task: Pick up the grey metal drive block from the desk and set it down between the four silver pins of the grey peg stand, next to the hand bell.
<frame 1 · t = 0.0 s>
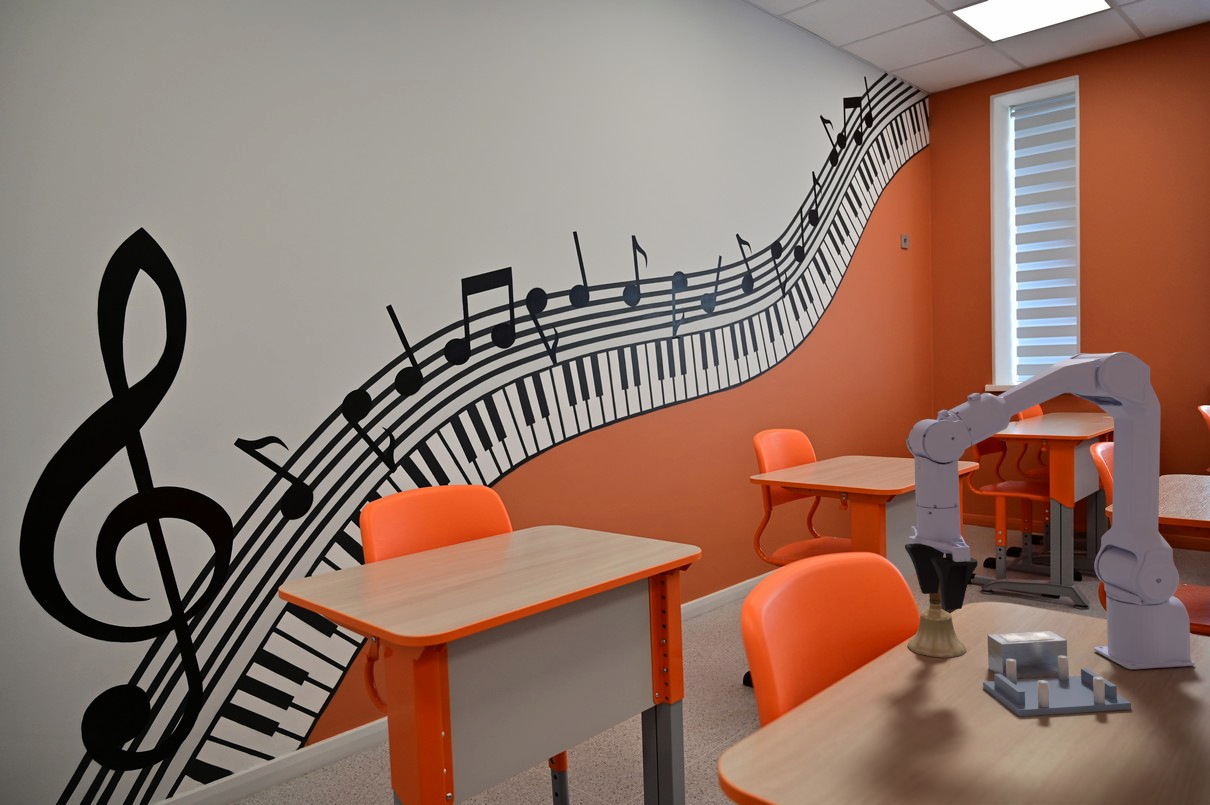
hand: (941, 600, 115), 10 cm above the table, tool pointing down, fingers open, 7 cm apart
grey peg stand: (1054, 698, 104), on the table
hand bell: (936, 649, 124), on the table
drive: (1027, 672, 113), on the table
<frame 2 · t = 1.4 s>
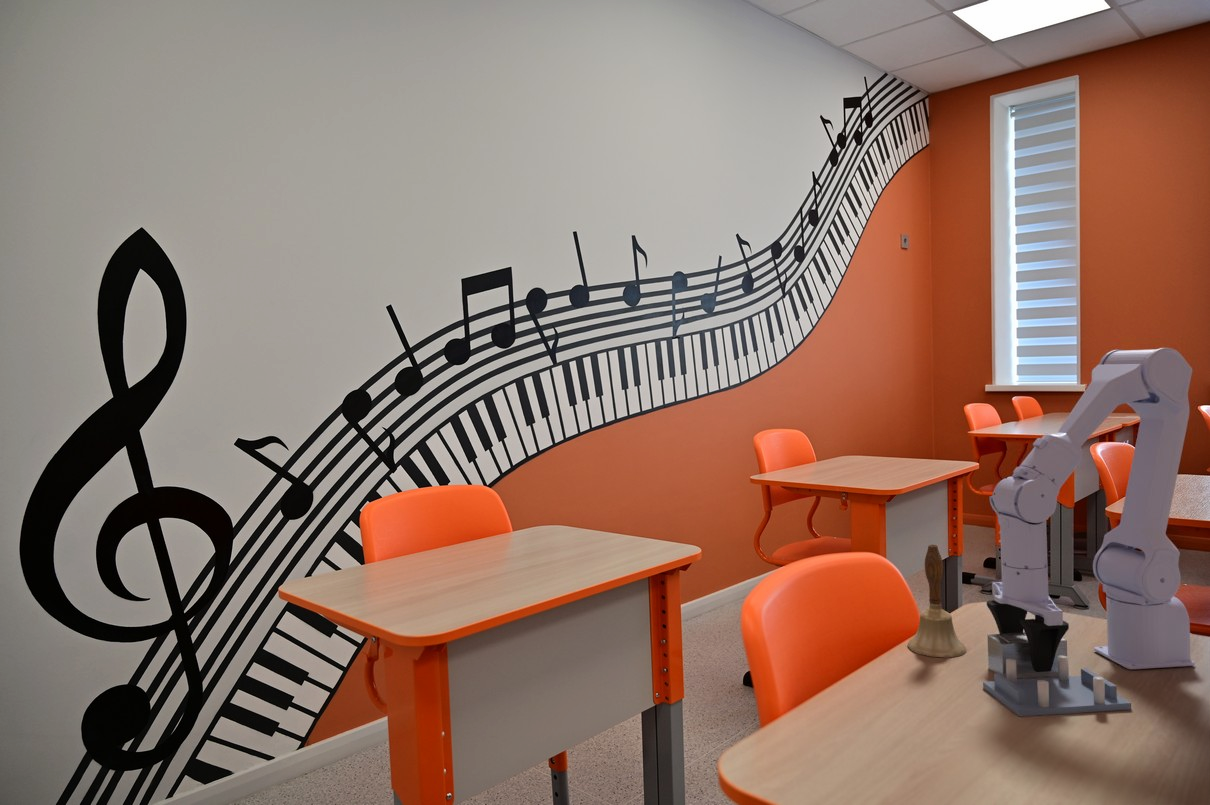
hand: (1027, 660, 113), 2 cm above the table, tool pointing down, fingers open, 7 cm apart
nothing on the table moved.
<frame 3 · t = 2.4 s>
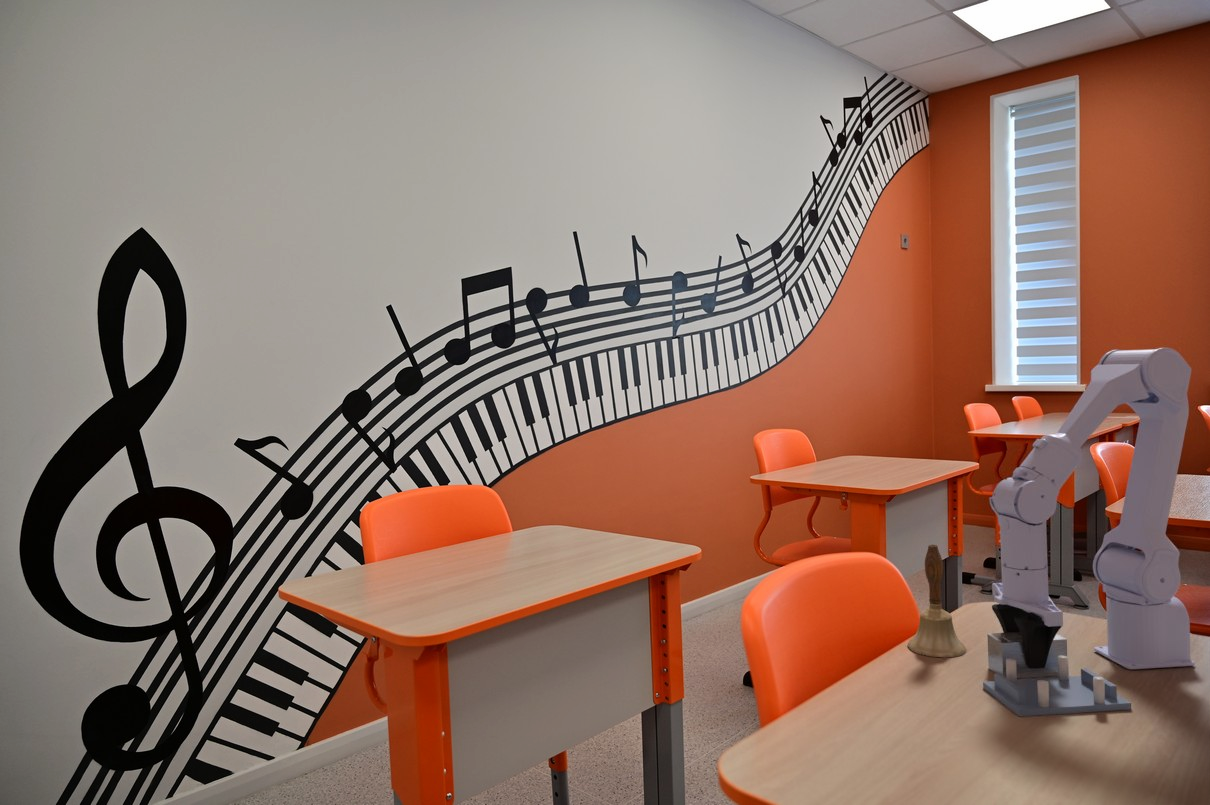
hand: (1027, 661, 113), 1 cm above the table, tool pointing down, fingers closed on drive, 4 cm apart
drive: (1027, 671, 113), on the table, touching gripper
everything else where it was.
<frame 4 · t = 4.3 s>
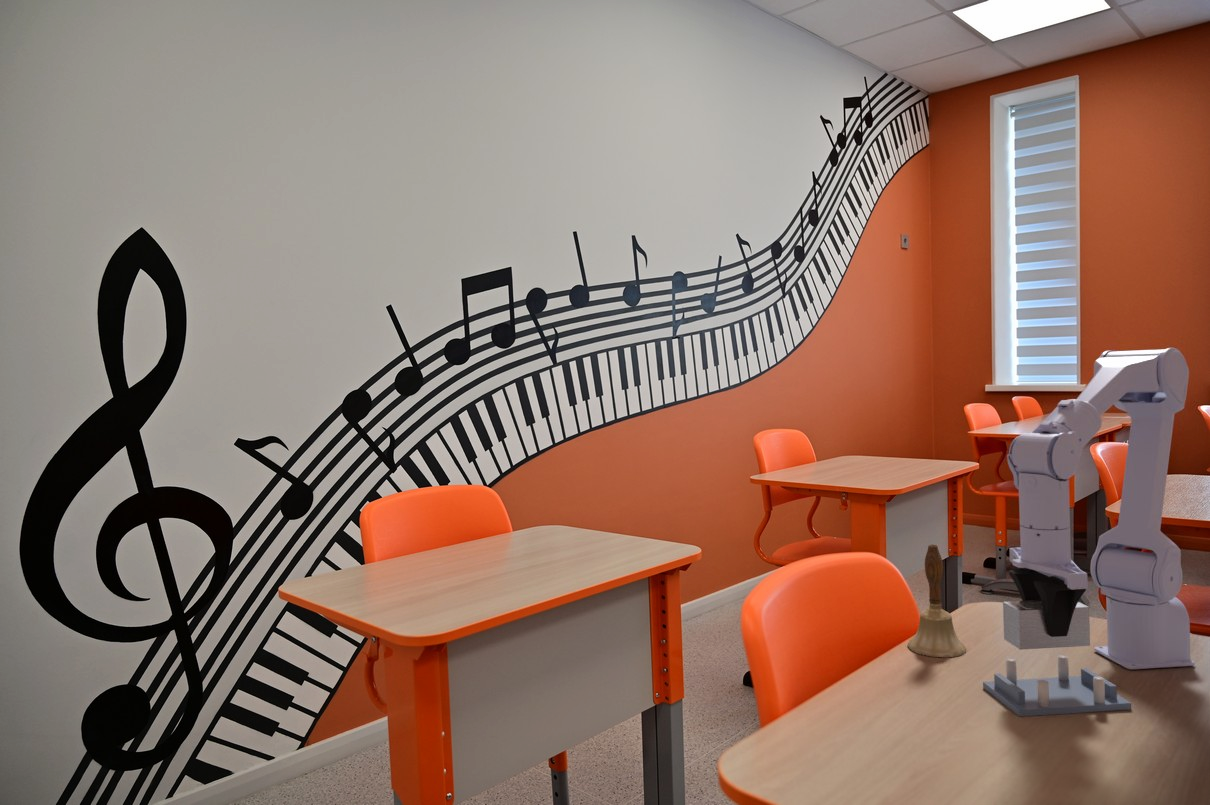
hand: (1047, 629, 105), 8 cm above the table, tool pointing down, fingers closed on drive, 4 cm apart
drive: (1046, 642, 105), point 7 cm above the table, touching gripper
everything else where it was.
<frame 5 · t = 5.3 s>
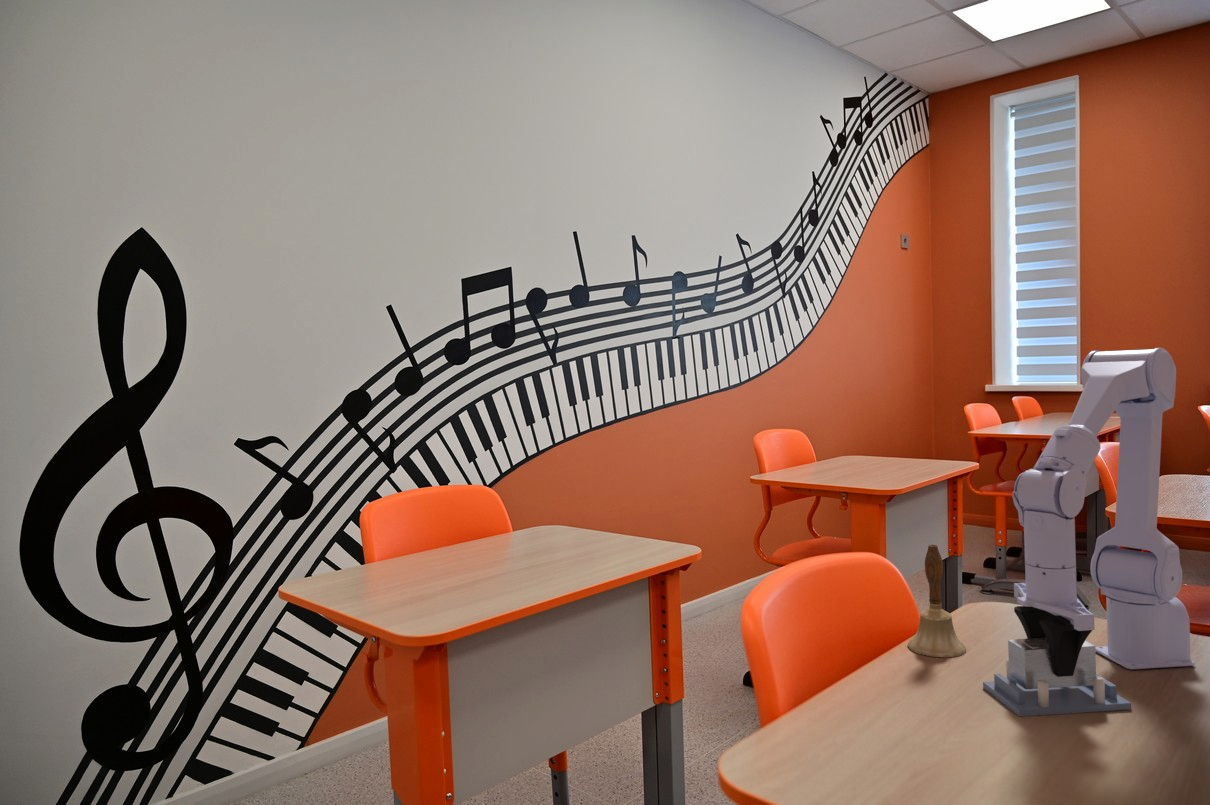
hand: (1053, 668, 104), 4 cm above the table, tool pointing down, fingers closed on drive, 4 cm apart
drive: (1052, 681, 104), point 2 cm above the table, touching gripper
everything else where it was.
when the fingers open (4 cm above the table, at t = 6.1 s): drive drops 1 cm, resting on grey peg stand.
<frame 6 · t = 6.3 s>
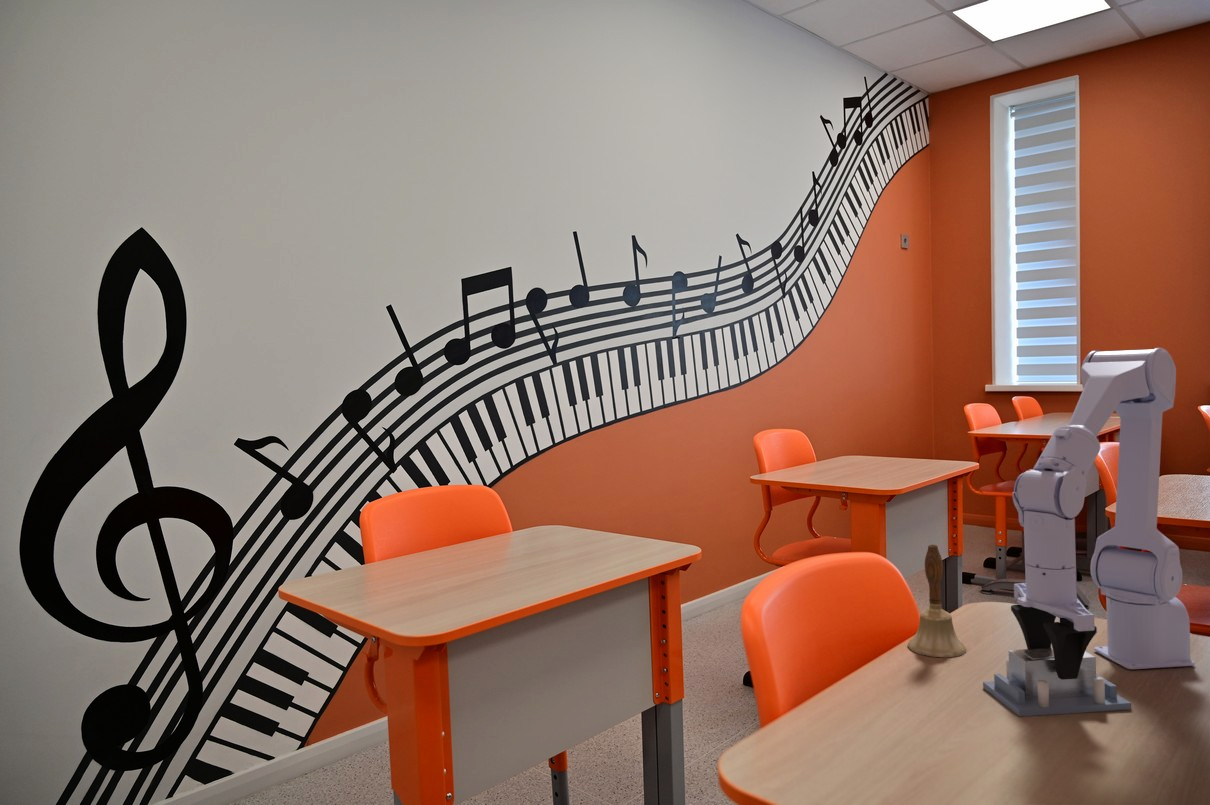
hand: (1053, 668, 104), 4 cm above the table, tool pointing down, fingers open, 6 cm apart
drive: (1052, 691, 104), point 1 cm above the table, touching grey peg stand
everything else where it was.
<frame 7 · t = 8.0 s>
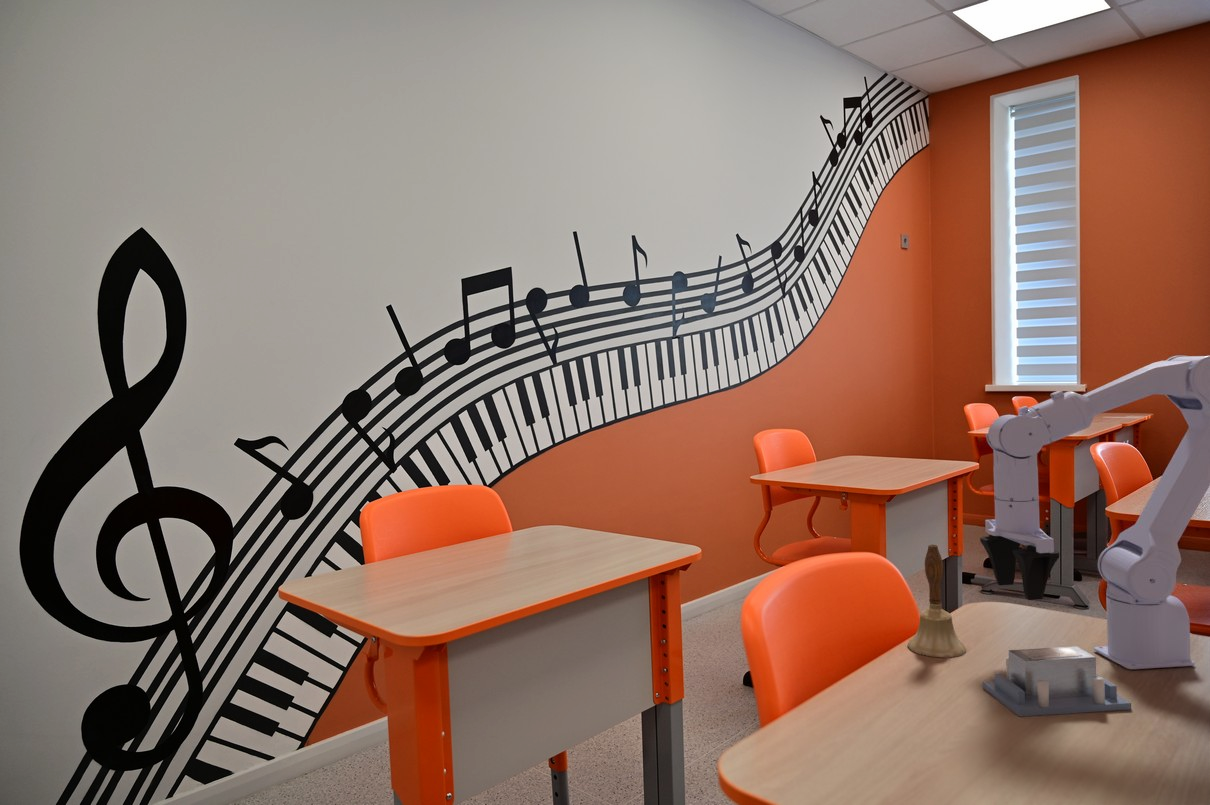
hand: (1019, 591, 118), 10 cm above the table, tool pointing down, fingers open, 7 cm apart
nothing on the table moved.
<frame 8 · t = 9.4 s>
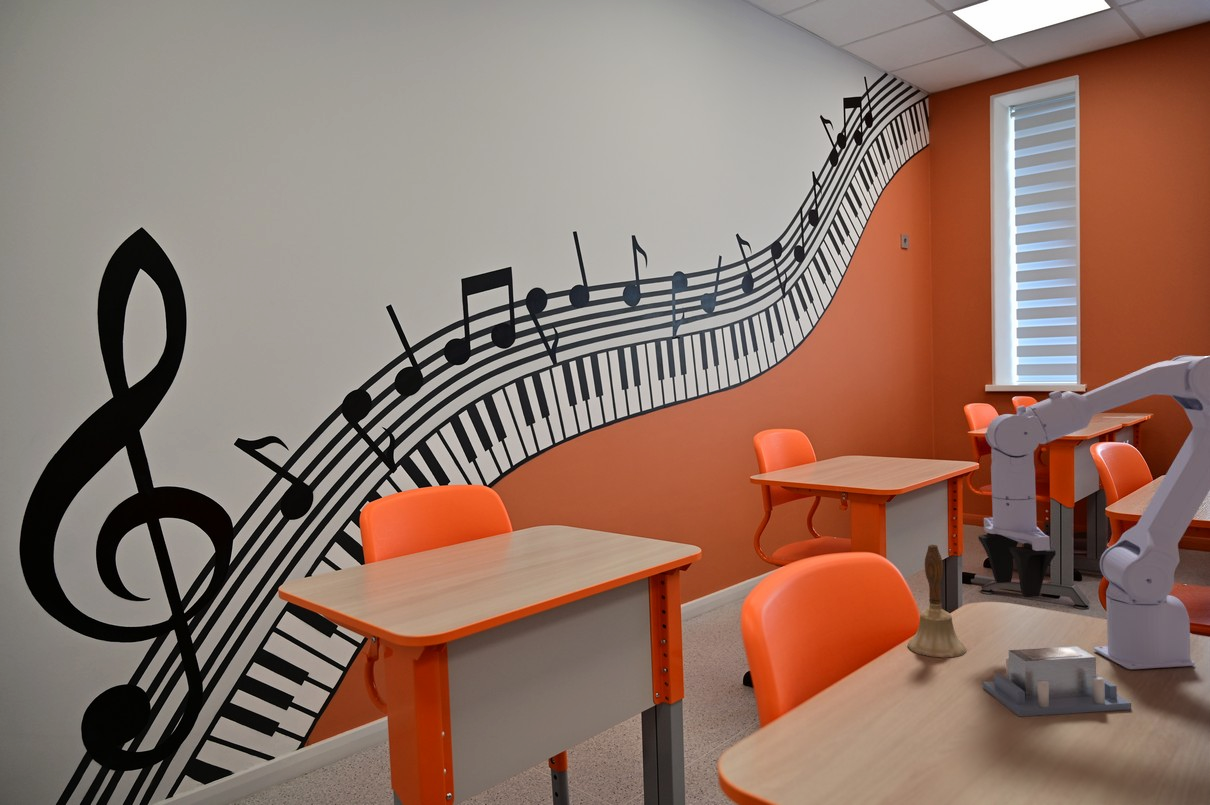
hand: (1016, 588, 119), 10 cm above the table, tool pointing down, fingers open, 7 cm apart
nothing on the table moved.
at the end: drive 0.2 cm off-centre on the grey peg stand, point 0.8 cm above the grey peg stand's base; drive tilted 0°; the gripper is holding nothing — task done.
